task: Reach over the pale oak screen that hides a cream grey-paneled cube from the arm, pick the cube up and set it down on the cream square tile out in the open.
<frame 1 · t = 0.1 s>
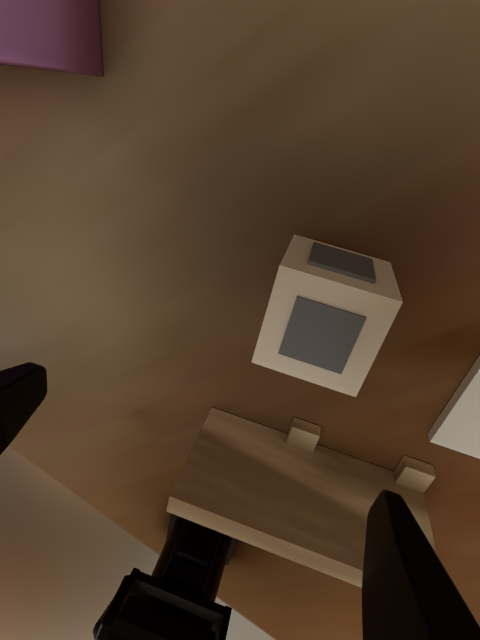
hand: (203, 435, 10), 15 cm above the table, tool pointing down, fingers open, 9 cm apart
cream grey-paneled cube: (325, 290, 23), on the table
oak screen: (310, 449, 28), on the table
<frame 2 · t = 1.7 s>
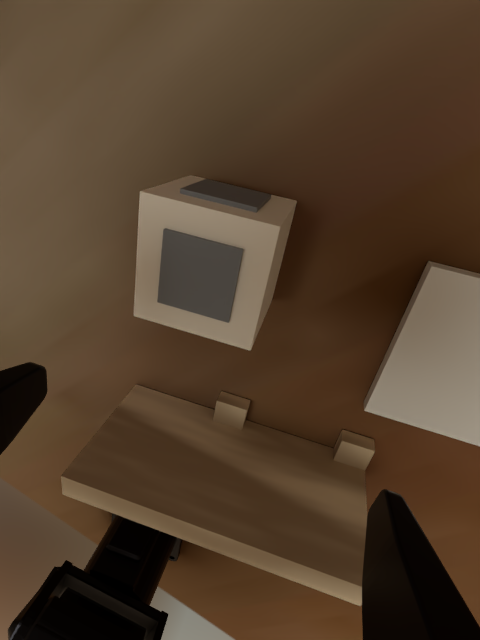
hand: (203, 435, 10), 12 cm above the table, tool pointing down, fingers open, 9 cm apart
cream grey-paneled cube: (233, 240, 20), on the table
cream square tile: (479, 363, 20), on the table
oak screen: (243, 427, 26), on the table
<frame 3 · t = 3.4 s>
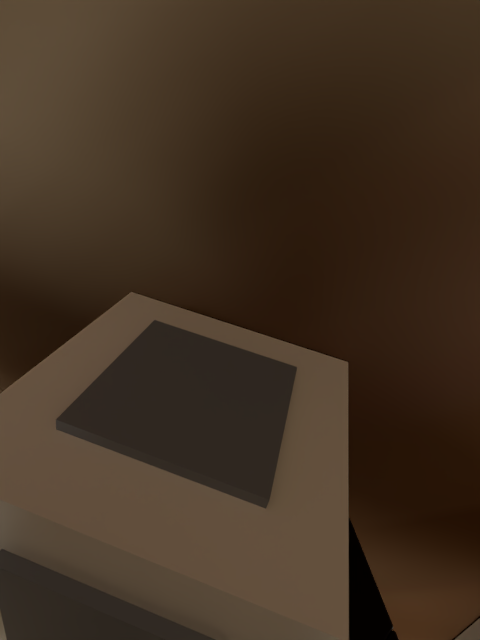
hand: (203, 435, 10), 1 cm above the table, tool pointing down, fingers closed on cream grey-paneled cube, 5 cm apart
cream grey-paneled cube: (215, 408, 10), on the table, touching gripper
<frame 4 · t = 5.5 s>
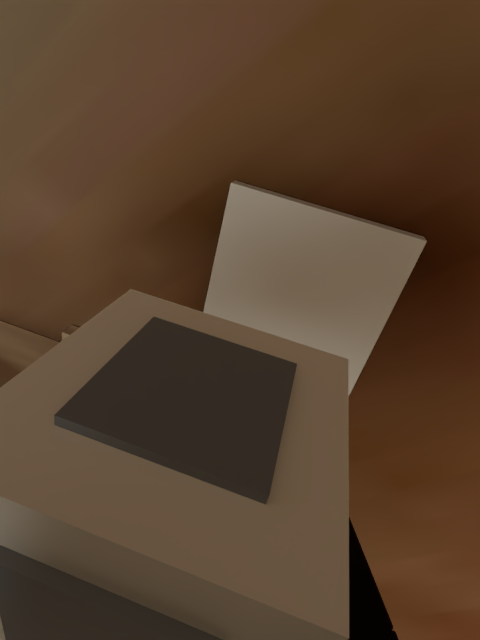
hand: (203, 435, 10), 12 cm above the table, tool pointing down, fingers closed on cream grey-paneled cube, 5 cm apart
cream grey-paneled cube: (215, 406, 10), point 11 cm above the table, touching gripper
cream square tile: (297, 292, 20), on the table
oak screen: (98, 365, 25), on the table
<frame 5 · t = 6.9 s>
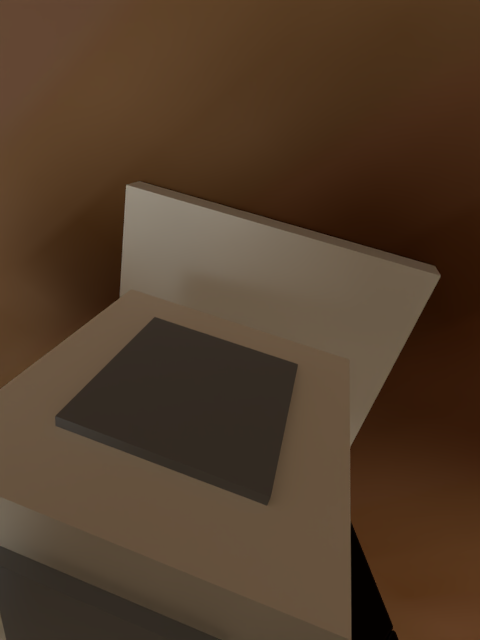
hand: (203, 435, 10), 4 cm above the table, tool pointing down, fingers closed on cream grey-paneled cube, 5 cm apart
cream grey-paneled cube: (215, 406, 10), point 3 cm above the table, touching gripper
cream square tile: (246, 345, 13), on the table
when the fingers open (3 cm above the table, at t = 7.7 s): cream grey-paneled cube drops 1 cm, resting on cream square tile.
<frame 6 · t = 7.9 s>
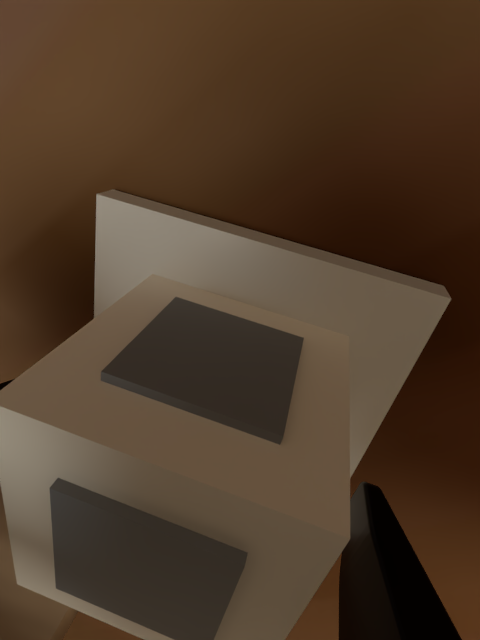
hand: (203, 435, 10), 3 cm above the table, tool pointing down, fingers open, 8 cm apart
cream grey-paneled cube: (227, 382, 11), point 1 cm above the table, touching cream square tile
cream square tile: (234, 369, 12), on the table
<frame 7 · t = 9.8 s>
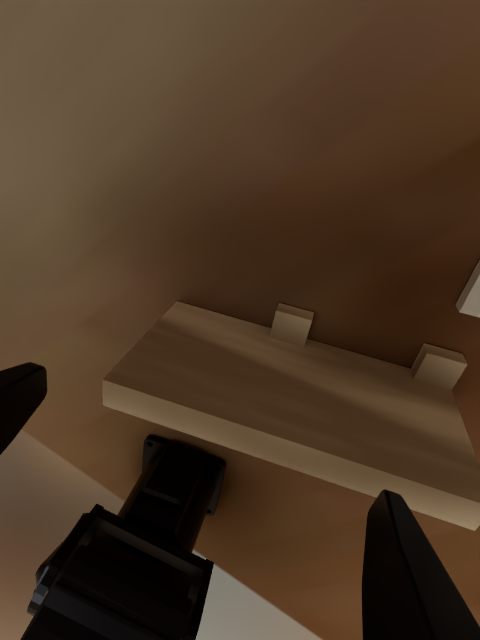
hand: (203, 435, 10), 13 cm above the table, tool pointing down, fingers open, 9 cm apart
oak screen: (302, 348, 22), on the table
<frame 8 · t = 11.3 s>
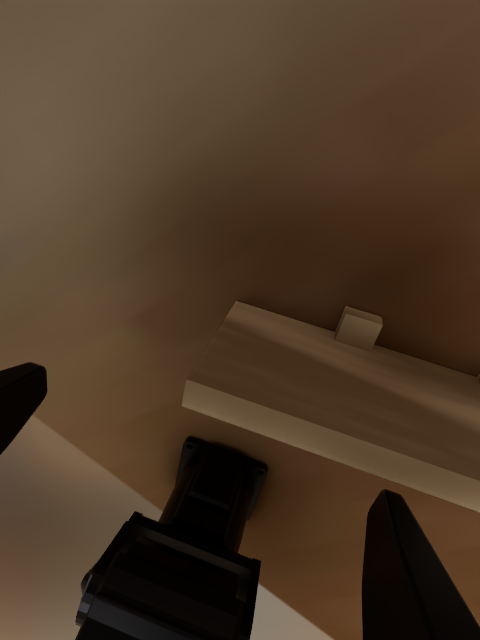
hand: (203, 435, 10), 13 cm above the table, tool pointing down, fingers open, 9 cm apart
oak screen: (364, 353, 22), on the table
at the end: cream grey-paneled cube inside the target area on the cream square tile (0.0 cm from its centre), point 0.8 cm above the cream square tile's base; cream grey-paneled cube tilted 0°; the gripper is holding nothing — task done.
